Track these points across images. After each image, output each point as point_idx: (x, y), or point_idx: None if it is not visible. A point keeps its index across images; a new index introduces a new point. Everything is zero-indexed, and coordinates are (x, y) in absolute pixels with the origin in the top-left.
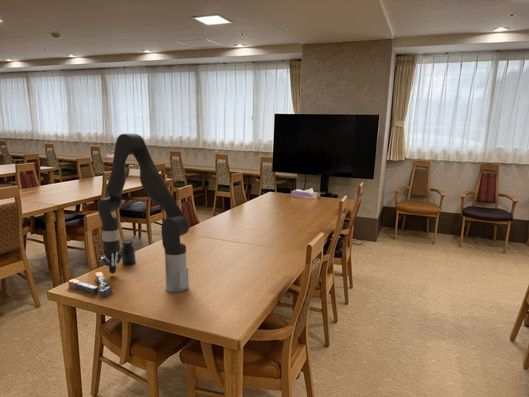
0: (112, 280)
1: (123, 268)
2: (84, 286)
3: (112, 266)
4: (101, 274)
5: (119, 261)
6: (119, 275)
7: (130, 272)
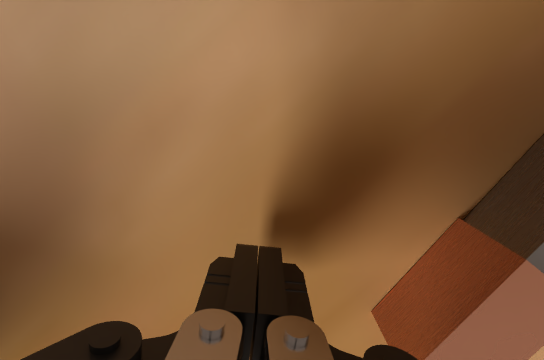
0: (391, 149)
1: (22, 289)
2: None
3: (304, 319)
4: (502, 305)
5: (71, 338)
6: (223, 180)
7: (70, 113)
